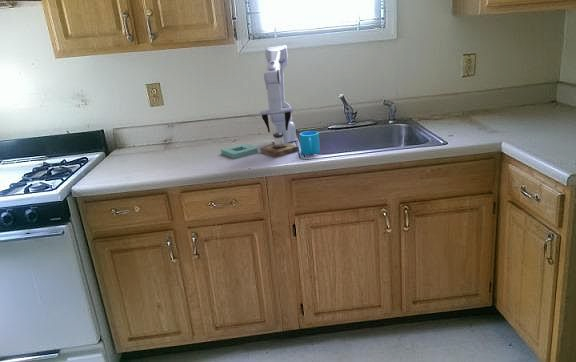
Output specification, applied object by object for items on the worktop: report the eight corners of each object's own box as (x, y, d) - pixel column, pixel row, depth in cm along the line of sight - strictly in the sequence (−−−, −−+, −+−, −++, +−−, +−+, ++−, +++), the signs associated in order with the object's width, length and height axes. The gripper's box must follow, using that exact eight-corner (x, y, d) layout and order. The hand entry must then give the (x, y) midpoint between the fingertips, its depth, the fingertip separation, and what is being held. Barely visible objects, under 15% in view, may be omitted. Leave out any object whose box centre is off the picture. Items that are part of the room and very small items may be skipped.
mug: (301, 150, 198) (299, 131, 195) (319, 148, 197) (318, 130, 195) (301, 157, 186) (299, 138, 184) (320, 156, 186) (319, 137, 183)
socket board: (244, 148, 210) (244, 143, 209) (258, 152, 200) (257, 148, 199) (221, 153, 203) (221, 149, 203) (234, 158, 194) (233, 154, 193)
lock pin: (281, 149, 201) (279, 132, 199) (287, 151, 198) (285, 133, 195) (272, 151, 199) (270, 134, 196) (278, 153, 195) (276, 135, 193)
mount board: (283, 146, 206) (282, 142, 206) (298, 150, 197) (298, 146, 196) (261, 152, 200) (260, 147, 199) (276, 157, 190) (275, 152, 190)
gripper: (258, 102, 187) (261, 134, 191) (292, 99, 187) (295, 131, 192) (257, 100, 193) (260, 131, 198) (290, 96, 194) (293, 127, 199)
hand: (277, 130), depth 195 cm, fingers open, 7 cm apart
